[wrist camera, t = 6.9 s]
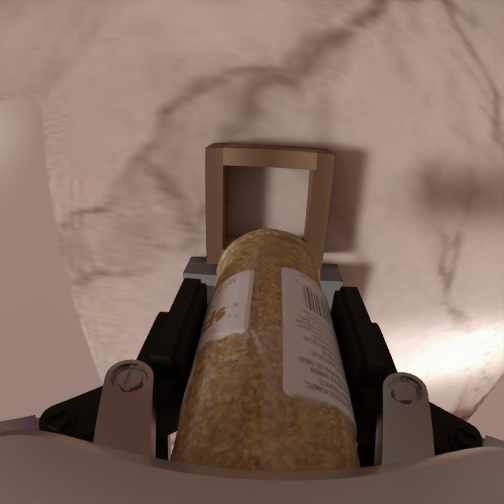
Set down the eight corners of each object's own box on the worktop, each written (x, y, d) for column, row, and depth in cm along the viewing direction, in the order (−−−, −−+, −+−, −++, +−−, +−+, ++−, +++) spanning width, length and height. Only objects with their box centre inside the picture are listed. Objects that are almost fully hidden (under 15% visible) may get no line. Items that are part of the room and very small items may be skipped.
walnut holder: (327, 149, 24) (334, 154, 21) (316, 253, 27) (321, 269, 25) (212, 143, 24) (205, 147, 21) (212, 248, 28) (206, 263, 25)
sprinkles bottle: (205, 236, 13) (65, 606, 1) (312, 216, 13) (410, 641, 1) (232, 322, 15) (185, 619, 3) (326, 307, 15) (373, 618, 2)
